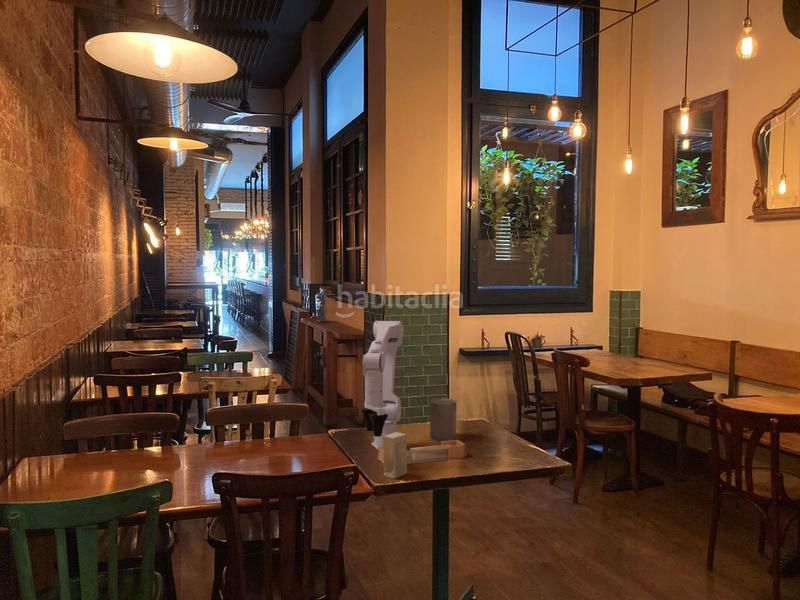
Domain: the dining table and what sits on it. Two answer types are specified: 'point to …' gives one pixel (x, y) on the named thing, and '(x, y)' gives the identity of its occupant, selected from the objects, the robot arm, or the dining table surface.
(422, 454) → the pale wooden block
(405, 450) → the skincare box
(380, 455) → the cap sliding
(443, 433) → the pillar candle
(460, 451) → the pink open box
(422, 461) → the guide rails
